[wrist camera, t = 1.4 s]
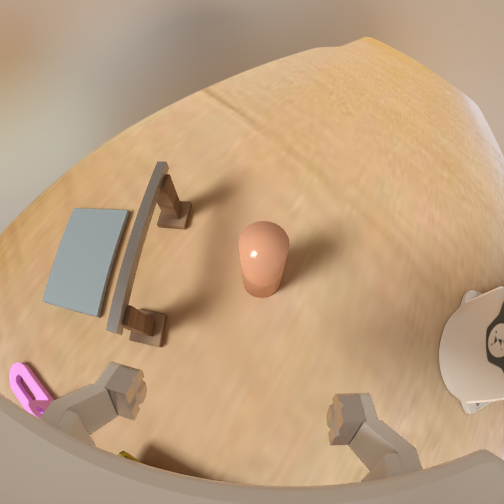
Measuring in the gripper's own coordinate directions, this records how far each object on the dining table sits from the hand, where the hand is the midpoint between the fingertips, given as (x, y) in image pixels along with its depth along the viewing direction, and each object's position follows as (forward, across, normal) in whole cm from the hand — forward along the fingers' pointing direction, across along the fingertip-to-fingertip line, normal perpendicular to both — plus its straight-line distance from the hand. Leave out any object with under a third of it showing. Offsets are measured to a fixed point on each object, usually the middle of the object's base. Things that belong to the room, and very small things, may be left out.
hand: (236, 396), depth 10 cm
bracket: (+8, +29, +23) cm, 38 cm away
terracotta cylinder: (+24, -1, +6) cm, 24 cm away
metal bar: (+18, +12, 0) cm, 22 cm away
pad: (+24, +25, +6) cm, 35 cm away
